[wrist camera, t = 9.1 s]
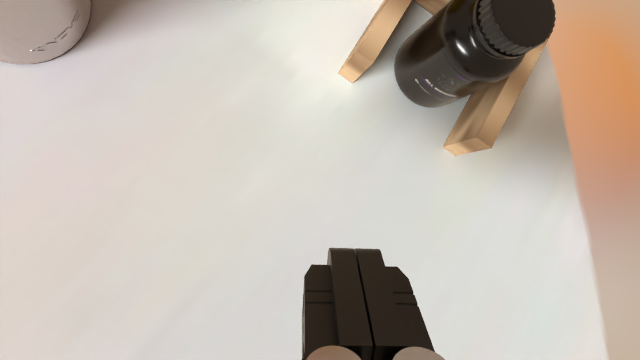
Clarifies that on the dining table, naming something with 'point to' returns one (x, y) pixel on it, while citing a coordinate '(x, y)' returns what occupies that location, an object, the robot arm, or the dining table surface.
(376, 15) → the frame
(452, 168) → the dining table surface
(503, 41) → the supplement bottle
